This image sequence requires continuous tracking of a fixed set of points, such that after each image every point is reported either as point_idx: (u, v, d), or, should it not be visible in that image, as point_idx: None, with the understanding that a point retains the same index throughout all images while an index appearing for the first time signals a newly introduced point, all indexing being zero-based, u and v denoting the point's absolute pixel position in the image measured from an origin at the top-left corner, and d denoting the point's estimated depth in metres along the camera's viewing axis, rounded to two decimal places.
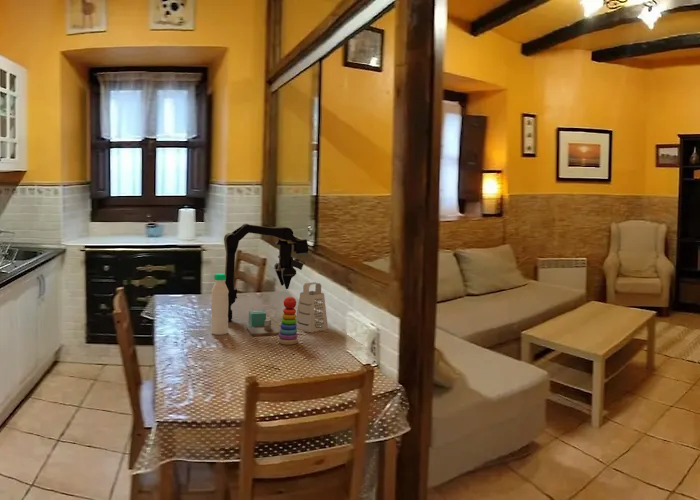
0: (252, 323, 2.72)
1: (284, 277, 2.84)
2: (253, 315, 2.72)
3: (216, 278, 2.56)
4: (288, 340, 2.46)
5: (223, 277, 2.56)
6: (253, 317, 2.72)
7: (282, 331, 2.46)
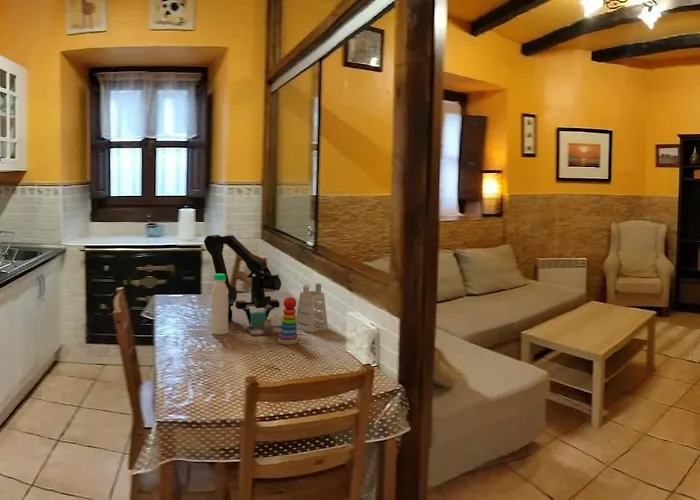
0: (252, 323, 2.72)
1: None
2: (253, 315, 2.72)
3: (216, 278, 2.56)
4: (288, 340, 2.46)
5: (223, 277, 2.56)
6: (253, 317, 2.72)
7: (282, 331, 2.46)
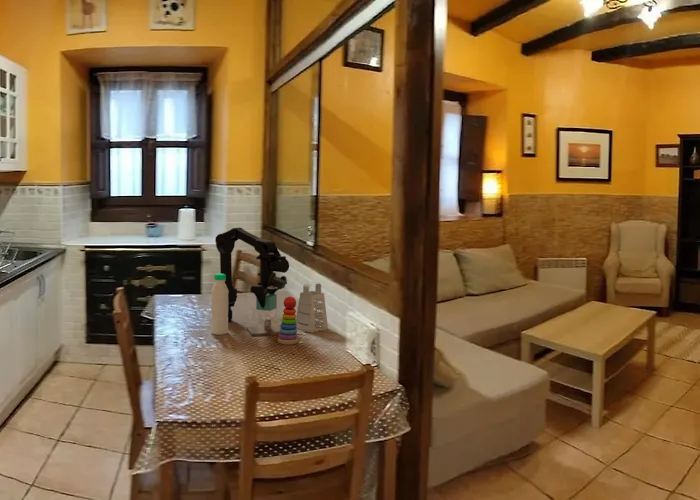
0: (270, 306, 2.63)
1: (257, 295, 2.62)
2: (270, 298, 2.63)
3: (216, 278, 2.56)
4: (288, 340, 2.46)
5: (223, 277, 2.56)
6: (270, 300, 2.63)
7: (282, 331, 2.46)
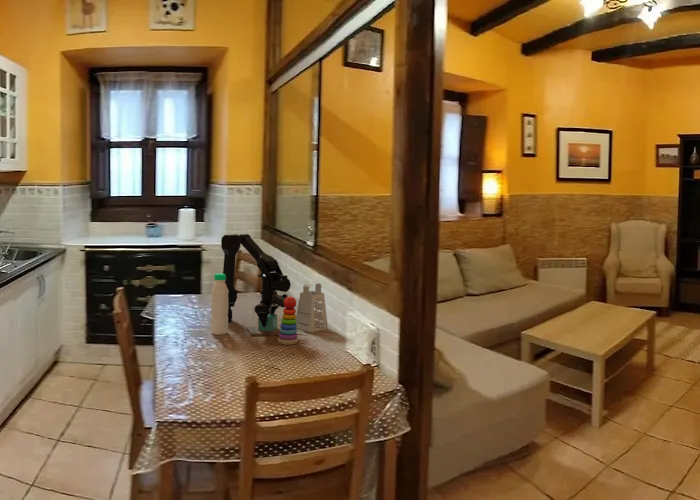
0: (273, 327, 2.62)
1: (259, 314, 2.59)
2: (273, 318, 2.62)
3: (216, 278, 2.56)
4: (288, 340, 2.46)
5: (223, 277, 2.56)
6: (273, 321, 2.62)
7: (282, 331, 2.46)
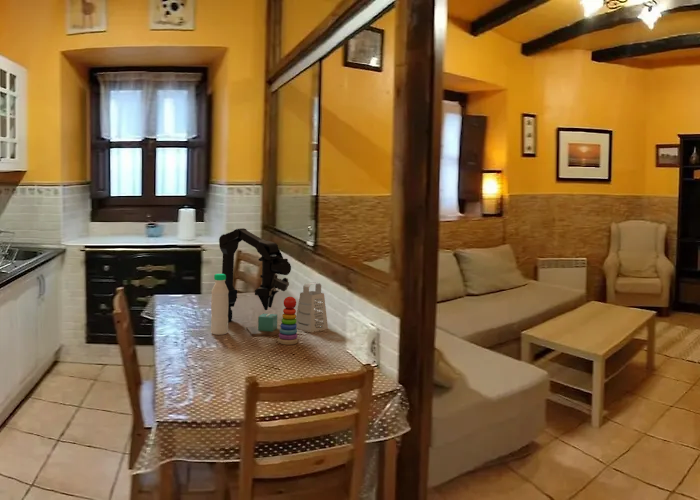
0: (273, 327, 2.62)
1: (261, 297, 2.60)
2: (273, 318, 2.62)
3: (216, 278, 2.56)
4: (288, 340, 2.46)
5: (223, 277, 2.56)
6: (273, 321, 2.62)
7: (282, 331, 2.46)
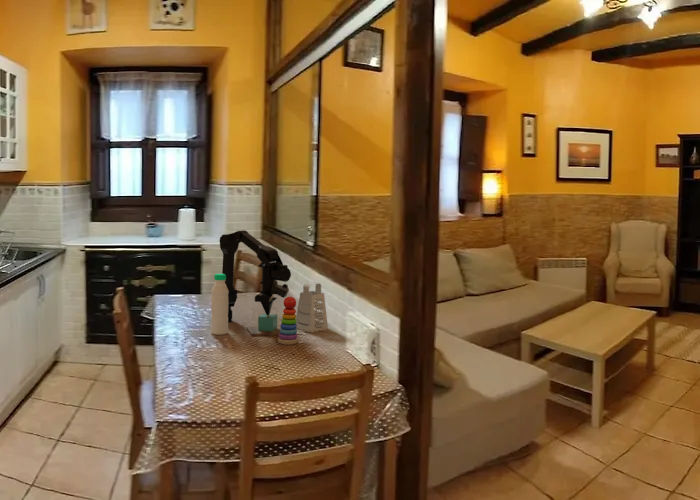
0: (273, 327, 2.62)
1: (262, 302, 2.62)
2: (273, 318, 2.62)
3: (216, 278, 2.56)
4: (288, 340, 2.46)
5: (223, 277, 2.56)
6: (273, 321, 2.62)
7: (282, 331, 2.46)
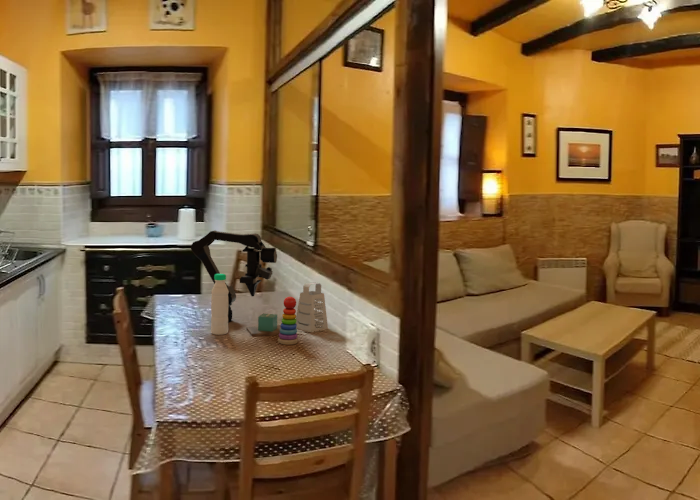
0: (273, 327, 2.62)
1: (247, 284, 2.78)
2: (273, 318, 2.62)
3: (216, 278, 2.56)
4: (288, 340, 2.46)
5: (223, 277, 2.56)
6: (273, 321, 2.62)
7: (282, 331, 2.46)
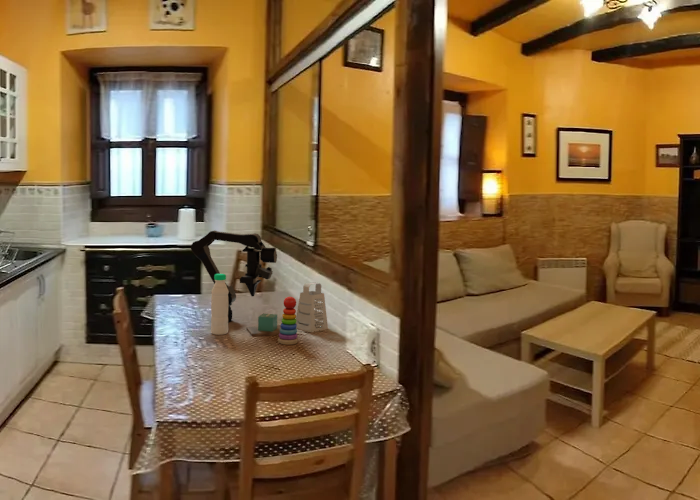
0: (273, 327, 2.62)
1: (247, 284, 2.78)
2: (273, 318, 2.62)
3: (216, 278, 2.56)
4: (288, 340, 2.46)
5: (223, 277, 2.56)
6: (273, 321, 2.62)
7: (282, 331, 2.46)
